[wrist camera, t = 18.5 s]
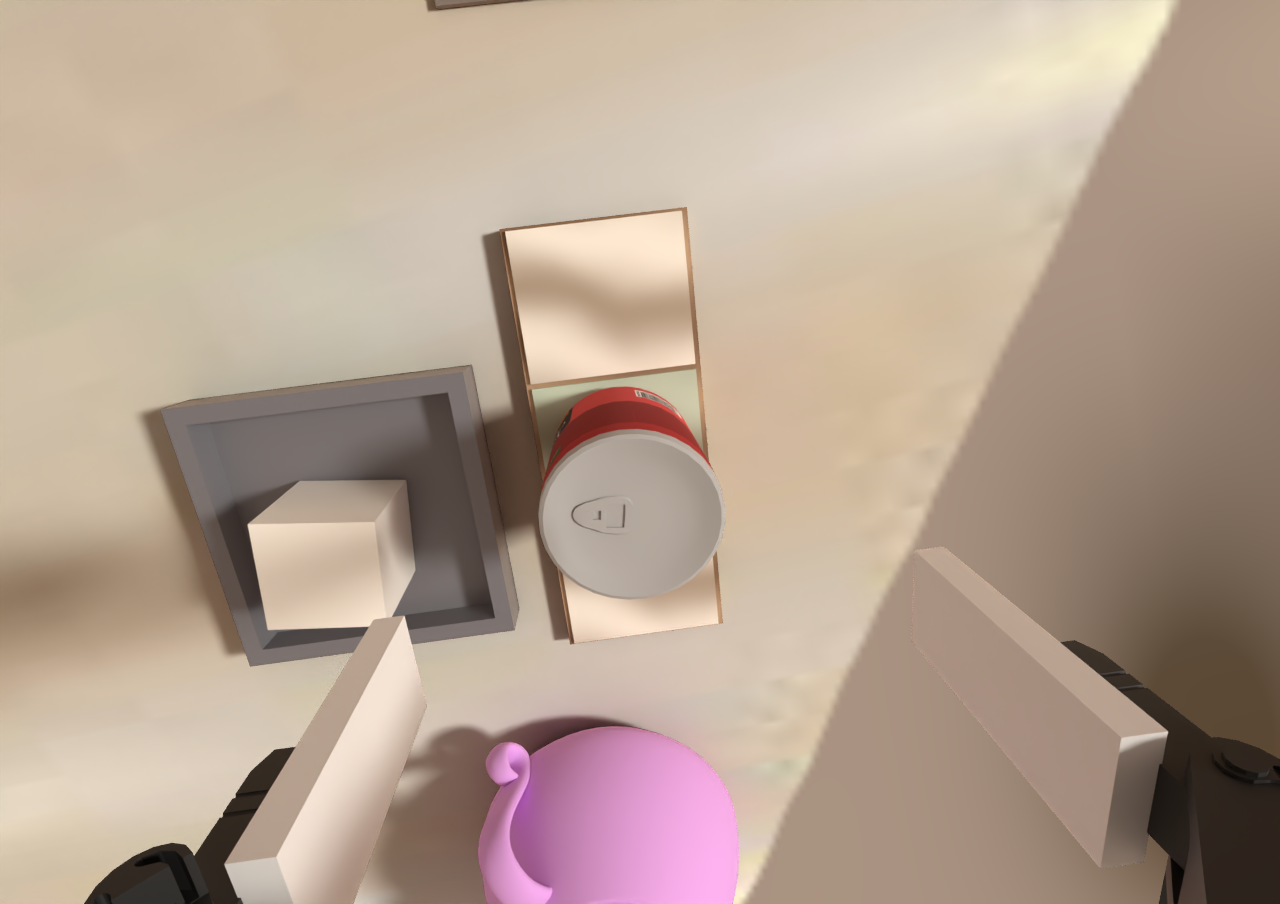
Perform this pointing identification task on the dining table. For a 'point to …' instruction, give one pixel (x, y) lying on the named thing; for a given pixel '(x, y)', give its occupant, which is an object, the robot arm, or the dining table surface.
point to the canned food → (629, 497)
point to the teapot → (608, 823)
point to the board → (610, 361)
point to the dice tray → (354, 450)
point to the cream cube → (333, 553)
